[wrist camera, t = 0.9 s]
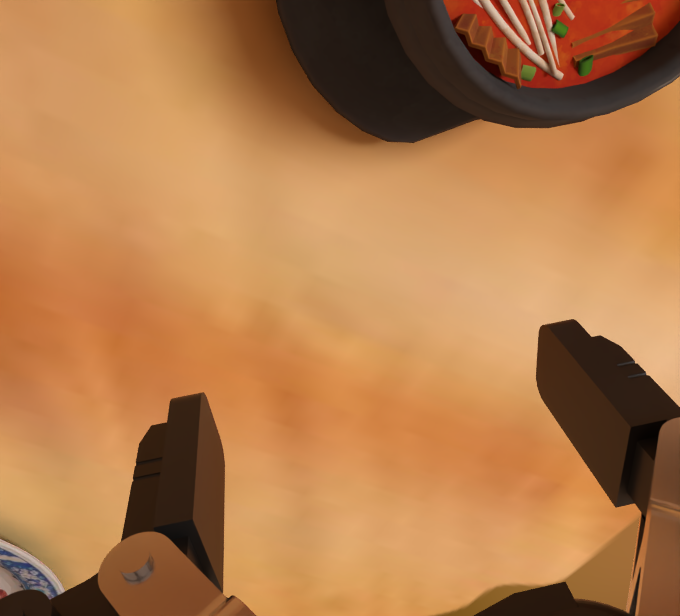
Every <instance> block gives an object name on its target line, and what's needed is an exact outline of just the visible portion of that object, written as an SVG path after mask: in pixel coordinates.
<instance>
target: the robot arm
mask: <svg viewBox="0 0 680 616" xmlns="http://www.w3.org/2000/svg"><path fill="white" fill-rule="evenodd" d="M536 381H537V387H538V390H539V393H540V396H541V398H542V400H543V401H544V403H545V404H546V406H547V407H548V409H549V410H550V412H551V413H552V415H553V416H554V418H555V419H556V421H557V422H558V424H559V425H560V426H561V428H562V429H563V431H564V432H565V434H566V435H567V437H568V438H569V440H570V441H571V443H572V444H573V446H574V447H575V449H576V450H577V451H578V453H579V454H580V456H581V457H582V459H583V460H584V462H585V463H586V465H587V466H588V468H589V469H590V471H591V472H592V473H593V475H594V476H595V478H596V479H597V481H598V482H599V484H600V485H601V487H602V488H603V490H604V491H605V493H606V494H607V496H608V497H609V498H610V500H611V501H612V503H613V504H614V506H615V507H620V506H625V505H629V504H634V503H635V504H636V505H637V507H638V508H639V510H640V511H641V516H640V520H639V527H638V534H637V541H636V547H635V555H634V561H633V569H632V576H631V583H630V589H629V596H628V601H627V607H626V612H625V611H623V610H621V609H618V608H616V607H613V606H610V605H607V604H604V603H600V602H596V601H590V600H584V599H574V598H573V596H572V594H571V592H570V590H569V588H568V586H567V584H566V582H562V583H558V584H553V585H549V586H545V587H540V588H536V589H531V590H527V591H523V592H518V593H514V594H512V595H510V596H509V597H507V598H505V599H503V600H501V601H499V602H498V603H496V604H494V605H492V606H490V607H488V608H487V609H485V610H483V611H481V612H479V613H478V614H476V615H474V616H680V407H679V406H678V405H677V404H676V403H675V402H674V401H673V400H672V399H671V398H670V397H669V396H668V395H667V394H666V393H665V392H664V391H663V390H662V389H661V387H660V386H659V385H658V384H657V383H656V382H655V381H654V380H653V379H652V378H651V377H650V376H649V375H648V376H647V375H646V372H645V371H644V370H643V369H642V368H641V367H640V366H639V365H638V364H635V361H634V360H633V358H632V357H631V356H630V355H629V354H628V353H627V352H626V351H625V350H624V349H623V348H622V347H621V346H619V345H617V344H615V343H614V342H612V341H610V340H608V339H606V338H604V337H602V336H595V337H591V336H590V335H589V334H588V333H587V332H586V330H585V329H584V328H583V327H582V326H581V325H580V324H579V323H578V322H577V321H576V320H574V319H571V320H566V321H561V322H556V323H551V324H546V325H542V326H541V327H540V330H539V337H538V352H537V368H536ZM224 489H225V461H224V453H223V447H222V443H221V439H220V436H219V433H218V430H217V427H216V424H215V421H214V418H213V415H212V412H211V409H210V406H209V403H208V400H207V397H206V395H205V394H204V393H198V394H193V395H188V396H183V397H178V398H173V399H171V401H170V405H169V413H168V420H167V423H162V424H157V425H152V426H151V427H150V429H149V430H148V432H147V433H146V435H145V436H144V437H143V439H142V440H141V442H140V443H139V448H138V453H137V459H136V466H135V469H134V475H133V482H132V486H131V491H130V496H129V502H128V507H127V513H126V518H125V523H124V529H123V534H122V539H121V542H120V543H118V544H117V545H116V546H115V547H114V548H113V549H112V550H111V551H110V552H109V553H108V554H107V556H106V557H105V558H104V560H103V562H102V564H101V566H100V569H99V572H98V573H97V574H96V575H94V576H93V577H91V578H90V579H88V580H86V581H85V582H83V583H81V584H79V585H77V586H75V587H73V588H71V589H69V590H67V591H65V592H63V593H61V594H59V595H57V596H55V597H53V598H51V599H49V598H48V597H47V595H46V594H44V593H43V592H41V591H39V590H33V589H27V590H21V591H17V592H14V593H12V594H9V595H7V596H5V597H4V598H2V599H0V616H256V615H255V614H254V613H253V612H252V611H251V610H250V609H249V608H248V607H247V606H246V605H245V604H244V603H243V602H242V601H241V600H240V599H238V598H237V597H235V596H231V597H229V598H227V597H226V596H225V595H224V594H223V561H224Z"/></svg>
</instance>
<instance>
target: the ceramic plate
mask: <svg viewBox="0 0 680 616" xmlns="http://www.w3.org/2000/svg"><path fill="white" fill-rule="evenodd" d="M27 589H33V590H39V591H41V592H43V593H44V594H46V595H47V597H48V598H49V599H51V598H53V597H55V596H57V595H59V594H61V593H63V592H65V590H64V588H63V585H62V584H61V582H60V581H59V579H58V578H57V576H56V575H55V574H54V573H53V572H52V571H51V570H50V569H49V568H48V567H47V566H46V565H45V564H43V563H42V562H41V561H40V560H38V559H37V558H35V557H34V556H32V555H31V554H29V553H28V552H26V551H24V550H22V549H21V548H19V547H17V546H15V545H12V544H10V543H8V542H6V541H4V540H1V539H0V599H2V598H4V597H5V596H7V595H9V594H12V593H14V592H17V591H21V590H27Z"/></svg>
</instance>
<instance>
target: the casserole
mask: <svg viewBox="0 0 680 616" xmlns="http://www.w3.org/2000/svg"><path fill="white" fill-rule="evenodd" d="M276 3H277V9H278V14H279V16H280V19H281V22H282V24H283V27H284V30H285V33H286V35H287V38H288V41H289V43H290V46H291V49H292V51H293V53H294V55H295V56H296V58H297V60H298V61H299V63H300V65H301V67H302V68H303V70H304V72H305V73H306V75H307V77H308V78H309V80H310V82H311V84H312V85H313V86H314V87H315V88H316V89H317V91H318V92H319V93H320V94H321V95H322V96H323V97H324V98H325V99H326V101H327V102H328V103H329V104H330V105H331V106H332V107H333V108H334V109H335V111H336V112H338V113H339V114H340V115H342V116H343V117H344V118H346V119H347V120H348V121H350V122H351V123H352V124H354V125H355V126H356V127H358V128H359V129H361V130H362V131H364V132H366V133H369V134H371V135H373V136H376V137H378V138H380V139H382V140H385V141H387V142H407V143H414V142H417V141H420V140H423V139H425V138H428V137H431V136H433V135H436V134H439V133H442V132H444V131H447V130H450V129H452V128H455V127H458V126H461V125H463V124H466V123H469V122H471V121H474V120H478V119H482V120H484V121H489V122H493V123H497V124H501V125H506V126H510V127H514V128H551V127H556V126H561V125H566V124H572V123H577V122H582V121H585V120H587V119H590V118H592V117H595V116H600V115H605V114H609V113H611V112H614V111H616V110H619V109H621V108H624V107H626V106H629V105H632V104H634V103H637V102H639V101H641V100H643V99H644V98H646V97H648V96H650V95H651V94H653V93H655V92H656V91H658V90H660V89H661V88H663V87H665V86H667V85H668V84H670V83H672V82H673V81H674V80H675V79H677V78H678V77H679V76H680V0H276Z"/></svg>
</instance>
